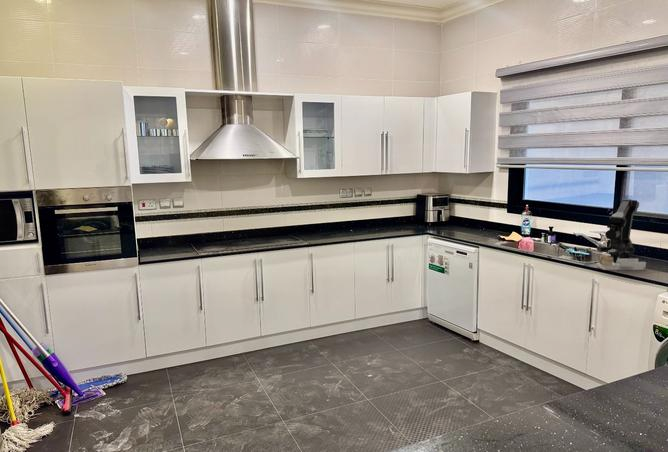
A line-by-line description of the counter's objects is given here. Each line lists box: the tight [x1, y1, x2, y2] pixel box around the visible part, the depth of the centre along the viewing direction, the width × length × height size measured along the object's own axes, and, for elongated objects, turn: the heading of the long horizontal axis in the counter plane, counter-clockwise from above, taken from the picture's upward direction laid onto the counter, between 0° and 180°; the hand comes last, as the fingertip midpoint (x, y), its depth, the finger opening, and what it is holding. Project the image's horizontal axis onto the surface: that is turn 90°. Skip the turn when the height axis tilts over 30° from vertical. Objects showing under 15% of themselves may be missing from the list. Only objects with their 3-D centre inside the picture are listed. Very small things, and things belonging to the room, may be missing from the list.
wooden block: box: [599, 254, 613, 266], centre depth 271 cm, size 5×5×5 cm
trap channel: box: [596, 258, 647, 271], centre depth 271 cm, size 9×23×4 cm, turn 84°
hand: (614, 262), depth 271 cm, fingers closed
